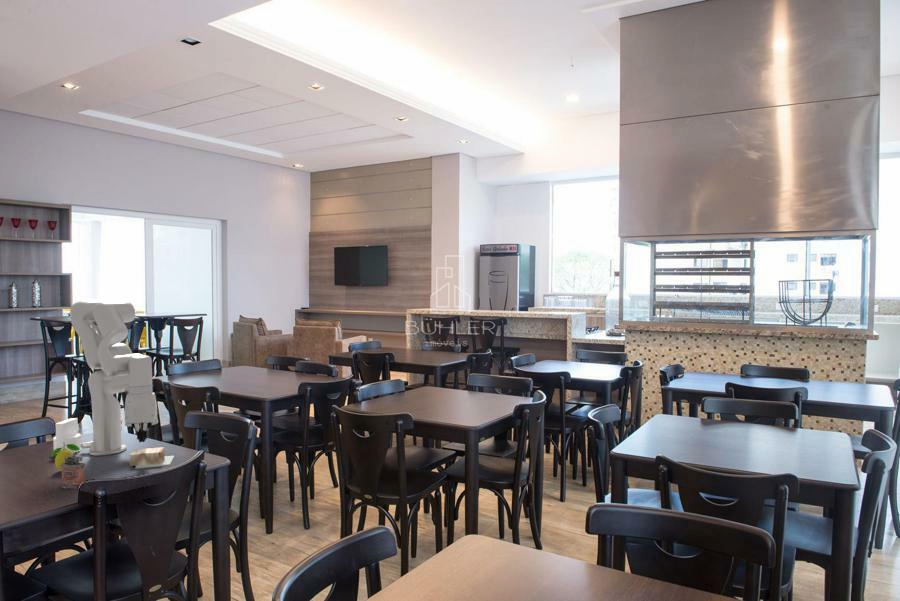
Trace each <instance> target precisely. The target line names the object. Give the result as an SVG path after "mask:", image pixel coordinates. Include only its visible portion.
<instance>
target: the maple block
mask: <svg viewBox="0 0 900 601" xmlns="http://www.w3.org/2000/svg"><path fill="white" fill-rule="evenodd" d="M164 456H165V447H164V446H163V447H161V446H158V447H151V448H150V447H149V448H138V449H133V450H132V452H131V453H130V454H129V466H130V467H134V466H135V467H136V466H137V465H148V464H159V463H162V461H163V460H164V458H165V457H164Z"/></svg>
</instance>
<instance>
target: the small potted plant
mask: <svg viewBox="0 0 900 601" xmlns="http://www.w3.org/2000/svg"><path fill="white" fill-rule="evenodd" d="M64 458H65V463H61V467H62V469H61V488H62V487H65V488H64V489H67V488H74V489H73V490H79V489H78V488H79V486H80V484H81V483H82V482H84V481H86V480H85V463H84V462H82V461H83V457H82V456H77V455H74V454H73V455H72V456H66V457H64Z"/></svg>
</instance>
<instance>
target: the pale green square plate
mask: <svg viewBox="0 0 900 601" xmlns="http://www.w3.org/2000/svg"><path fill="white" fill-rule="evenodd" d="M164 457H165V458H164V460H163V461H162V463H159V464H148V465H137V466H135V469H146V468H148V469H149V468H157V467H167V466H168V467H169V466H171V465H172V462H173V461H174V458H175V455H169V456H168V455H164Z"/></svg>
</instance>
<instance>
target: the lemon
mask: <svg viewBox="0 0 900 601" xmlns="http://www.w3.org/2000/svg"><path fill="white" fill-rule="evenodd" d="M63 444H64V442H63ZM64 445H65V444H64ZM66 446H67V448H68V449H70V450H75V451H77V450H80V449H79V447H78V446H76V445H74V444H68V445H66ZM62 448H63V447H62ZM62 448H57V449H55V450H54V449H53V451H52V453H51V455H50V458H53V457H55V459H54V464H55V467H56V468H57V469H59V470H62V467H61V463H65V458H64V457H66V456H72V455H74V453H72V452H71V451H70V450H67V449H65V446H64V449H62ZM61 449H62V450H61ZM60 450H61V451H60ZM56 454H57V455H56Z"/></svg>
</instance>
